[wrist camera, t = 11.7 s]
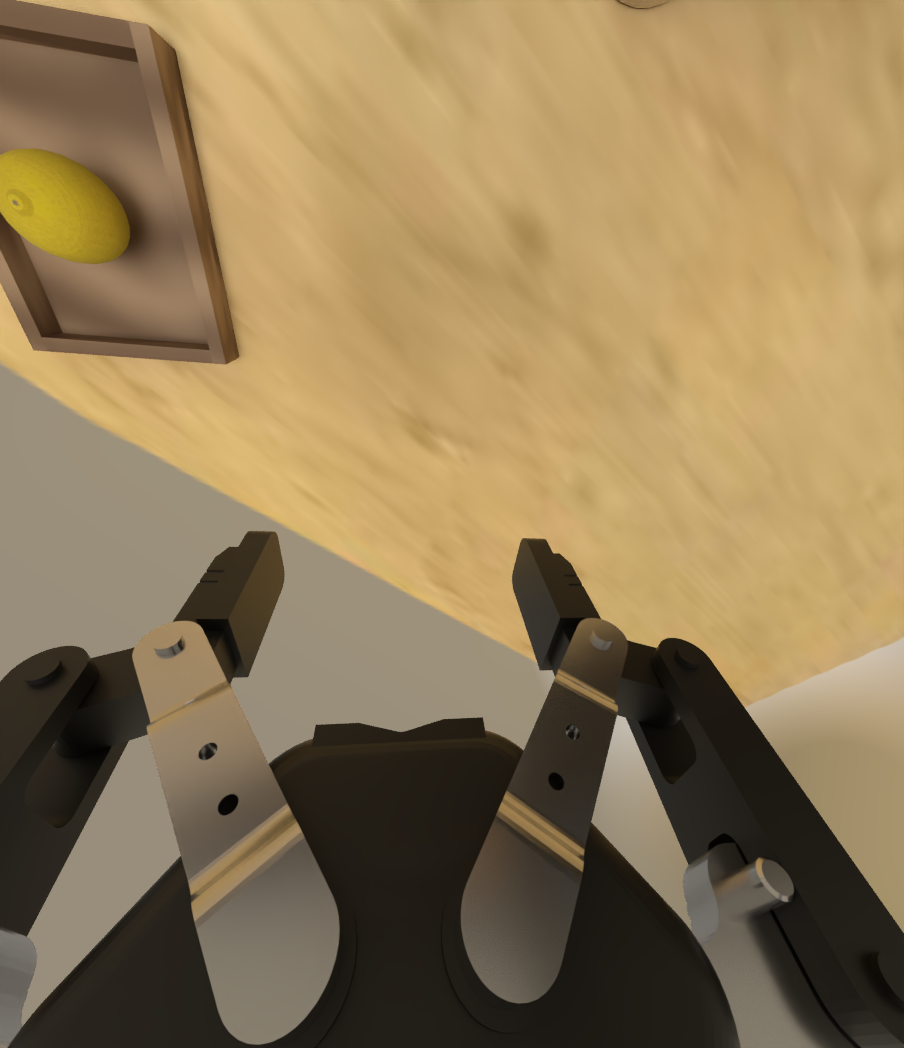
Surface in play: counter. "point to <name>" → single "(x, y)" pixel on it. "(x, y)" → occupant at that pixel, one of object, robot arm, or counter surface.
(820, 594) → the counter surface
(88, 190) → the lemon
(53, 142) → the tray
